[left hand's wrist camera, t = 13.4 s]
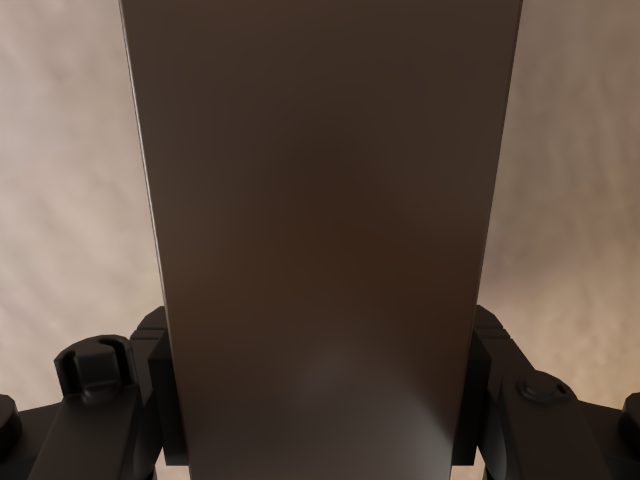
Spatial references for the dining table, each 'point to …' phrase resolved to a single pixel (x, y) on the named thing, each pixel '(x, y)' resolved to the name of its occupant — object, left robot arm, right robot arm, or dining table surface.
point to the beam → (320, 222)
